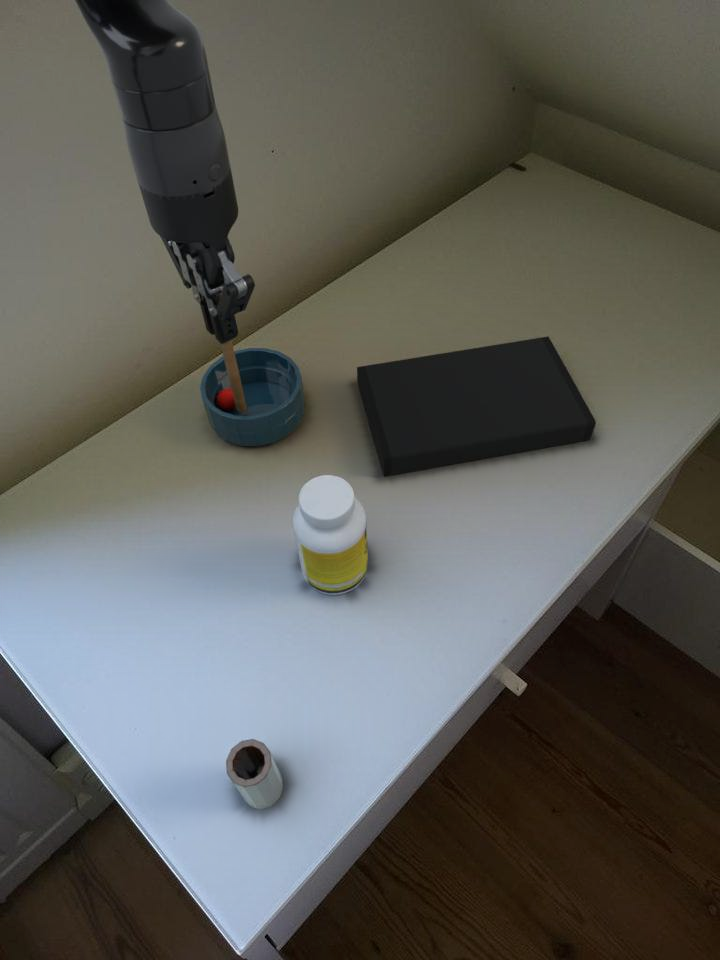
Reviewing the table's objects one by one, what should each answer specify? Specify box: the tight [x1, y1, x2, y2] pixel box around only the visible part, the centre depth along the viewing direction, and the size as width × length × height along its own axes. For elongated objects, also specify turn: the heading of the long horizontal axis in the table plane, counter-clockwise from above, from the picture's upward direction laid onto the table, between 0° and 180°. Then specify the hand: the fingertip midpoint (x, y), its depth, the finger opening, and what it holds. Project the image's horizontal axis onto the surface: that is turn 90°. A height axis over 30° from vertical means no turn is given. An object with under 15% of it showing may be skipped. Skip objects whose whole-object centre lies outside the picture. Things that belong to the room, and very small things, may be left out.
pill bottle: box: [292, 474, 369, 596], centre depth 62 cm, size 6×6×12 cm
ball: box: [217, 389, 236, 410], centre depth 78 cm, size 2×2×2 cm
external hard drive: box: [356, 336, 597, 477], centre depth 77 cm, size 14×23×3 cm, turn 101°
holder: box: [225, 738, 284, 810], centre depth 52 cm, size 3×3×7 cm
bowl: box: [199, 347, 306, 447], centre depth 77 cm, size 11×11×5 cm
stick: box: [216, 293, 247, 413], centre depth 72 cm, size 1×1×16 cm
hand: (223, 333), depth 69 cm, fingers closed on stick, 1 cm apart
